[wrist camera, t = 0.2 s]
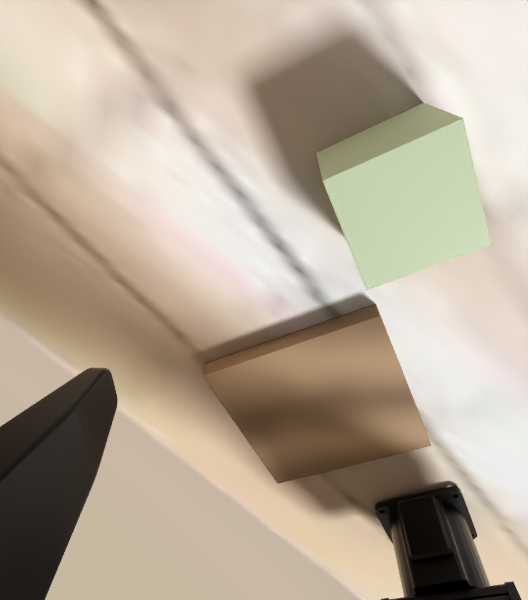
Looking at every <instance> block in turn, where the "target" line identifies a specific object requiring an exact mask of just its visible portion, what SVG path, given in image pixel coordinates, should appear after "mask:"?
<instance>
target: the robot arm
mask: <svg viewBox="0 0 528 600" xmlns="http://www.w3.org/2000/svg"><path fill="white" fill-rule="evenodd" d="M116 408H117V394H116V390H115V386H114V382H113V378H112V374H111V372H110V370H109V369H107V368H89V369H87V370H85V371H83V372H82V373H80V374H79V375H77V376H76V377H74V378H73V379H71V380H70V381H68V382H67V383H65V384H64V385H63V386H61V387H59V388H58V389H56V390H55V391H53V392H52V393H50V394H49V395H47V396H46V397H44V398H43V399H41V400H40V401H38V402H37V403H35V404H34V405H32V406H31V407H29V408H28V409H26V410H25V411H23V412H22V413H20V414H19V415H17V416H16V417H14V418H13V419H11V420H10V421H8V422H7V423H5V424H4V425H2V426H1V427H0V600H45V598H46V595H47V593H48V591H49V588H50V586H51V583H52V581H53V579H54V576H55V574H56V571H57V569H58V566H59V564H60V562H61V559H62V557H63V555H64V552H65V550H66V547H67V545H68V542H69V540H70V538H71V535H72V533H73V531H74V528H75V526H76V524H77V521H78V518H79V516H80V514H81V511H82V509H83V507H84V504H85V502H86V500H87V497H88V495H89V492H90V490H91V487H92V485H93V483H94V480H95V477H96V475H97V472H98V468H99V466H100V463H101V459H102V456H103V452H104V449H105V445H106V442H107V439H108V435H109V432H110V429H111V425H112V421H113V418H114V415H115V412H116ZM375 511H376V514H377V516H378V518H379V520H380V521H381V523H382V525H383V527H384V529H385V530H386V532H387V534H388V536H389V538H390V539H391V541H392V543H393V545H394V549H395V554H396V559H397V564H398V569H399V573H400V578H401V583H402V588H403V593H404V598H397V599H389V598H385V599H381V600H521V598H520V596H519V593H518V591H517V589H516V587H515V585H514V582H513V581H512V582H505V584H503V585H495V586H490V584H489V581H488V578H487V576H486V573H485V570H484V568H483V565H482V562H481V559H480V557H479V554H478V551H477V549H476V546H475V543H474V541H473V539H475V538H476V537H477V533H476V530H475V528H474V525H473V522H472V520H471V517H470V514H469V512H468V509H467V506H466V504H465V501H464V498H463V496H462V493H461V490H460V489H459V488H458V487H450V488H446V489H441V490H437V491H432V492H427V493H423V494H418V495H414V496H409V497H405V498H400V499H395V500H391V501H386V502H382V503H378V504H376V505H375Z"/></svg>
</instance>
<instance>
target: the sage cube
mask: <svg viewBox="0 0 528 600" xmlns="http://www.w3.org/2000/svg"><path fill="white" fill-rule="evenodd" d="M316 155H317V159H318V164H319V168H320V172H321V177H322V181H323V183H324V186H325V188H326V191H327V193H328V196H329V198H330V201H331V203H332V206H333V208H334V211H335V213H336V216H337V218H338V221H339V223H340V226H341V228H342V231H343V233H344V236H345V238H346V241H347V243H348V246H349V248H350V251H351V253H352V256H353V258H354V261H355V263H356V266H357V268H358V271H359V273H360V276H361V278H362V281H363V283H364V286H365V288H366V290H368V289H371V288H374V287H376V286H379V285H382V284H385V283H388V282H390V281H393V280H396V279H399V278H401V277H404V276H407V275H410V274H413V273H415V272H418V271H421V270H424V269H426V268H429V267H432V266H435V265H438V264H440V263H443V262H446V261H449V260H451V259H454V258H457V257H460V256H463V255H465V254H468V253H471V252H474V251H476V250H479V249H482V248H485V247H488V246H490V245H491V242H490V237H489V233H488V228H487V224H486V219H485V215H484V210H483V206H482V201H481V197H480V192H479V188H478V183H477V179H476V174H475V170H474V165H473V161H472V156H471V152H470V147H469V143H468V138H467V134H466V129H465V125H464V120H463V118H461V117H458V116H456V115H453V114H451V113H448V112H446V111H443V110H441V109H438V108H436V107H433V106H431V105H428V104H426V103H422V104H419V105H417V106H415V107H413V108H411V109H409V110H407V111H404V112H402V113H400V114H398V115H396V116H394V117H392V118H389V119H387V120H385V121H383V122H381V123H379V124H376V125H374V126H372V127H370V128H368V129H366V130H364V131H361V132H359V133H357V134H355V135H353V136H351V137H349V138H346V139H344V140H342V141H340V142H338V143H336V144H334V145H331V146H329V147H327V148H325V149H323V150H321V151H319V152H316Z"/></svg>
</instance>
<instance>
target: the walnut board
mask: <svg viewBox="0 0 528 600" xmlns="http://www.w3.org/2000/svg"><path fill="white" fill-rule="evenodd" d="M203 377H204V379H205V380H206V382H207V383H208V384H209V386H210V387H211V389H212V390H213V392H214V393H215V394H216V396H217V397H218V399H219V400H220V402H221V403H222V404H223V406H224V407H225V409H226V410H227V412H228V413H229V414H230V416H231V417H232V419H233V420H234V422H235V423H236V425H237V426H238V427H239V429H240V430H241V432H242V433H243V435H244V436H245V437H246V439H247V440H248V442H249V443H250V445H251V446H252V447H253V449H254V450H255V452H256V453H257V455H258V456H259V457H260V459H261V460H262V462H263V463H264V465H265V466H266V467H267V469H268V470H269V472H270V473H271V475H272V476H273V477H274V479H275V480H276V482H277V483H282V482H286V481H290V480H294V479H298V478H302V477H306V476H310V475H314V474H318V473H322V472H326V471H330V470H334V469H338V468H342V467H347V466H351V465H355V464H359V463H363V462H367V461H371V460H375V459H379V458H383V457H387V456H391V455H395V454H399V453H403V452H407V451H411V450H415V449H419V448H423V447H427V446H431V444H430V441H429V438H428V435H427V433H426V430H425V427H424V425H423V422H422V420H421V417H420V415H419V412H418V410H417V407H416V405H415V402H414V399H413V397H412V394H411V392H410V389H409V387H408V384H407V382H406V379H405V377H404V374H403V372H402V369H401V367H400V364H399V362H398V359H397V356H396V354H395V351H394V349H393V346H392V344H391V341H390V339H389V336H388V334H387V331H386V329H385V326H384V324H383V321H382V319H381V316H380V313H379V311H378V308H377V306H376V304H375V305H372V306H369V307H366V308H364V309H361V310H358V311H355V312H352V313H349V314H346V315H343V316H341V317H338V318H335V319H332V320H329V321H326V322H323V323H321V324H318V325H315V326H312V327H309V328H306V329H303V330H300V331H298V332H295V333H292V334H289V335H286V336H283V337H280V338H278V339H275V340H272V341H269V342H266V343H263V344H260V345H257V346H255V347H252V348H249V349H246V350H243V351H240V352H237V353H234V354H232V355H229V356H226V357H223V358H220V359H217V360H214V361H212V362H209V363H206V366H205V369H204V373H203Z"/></svg>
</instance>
